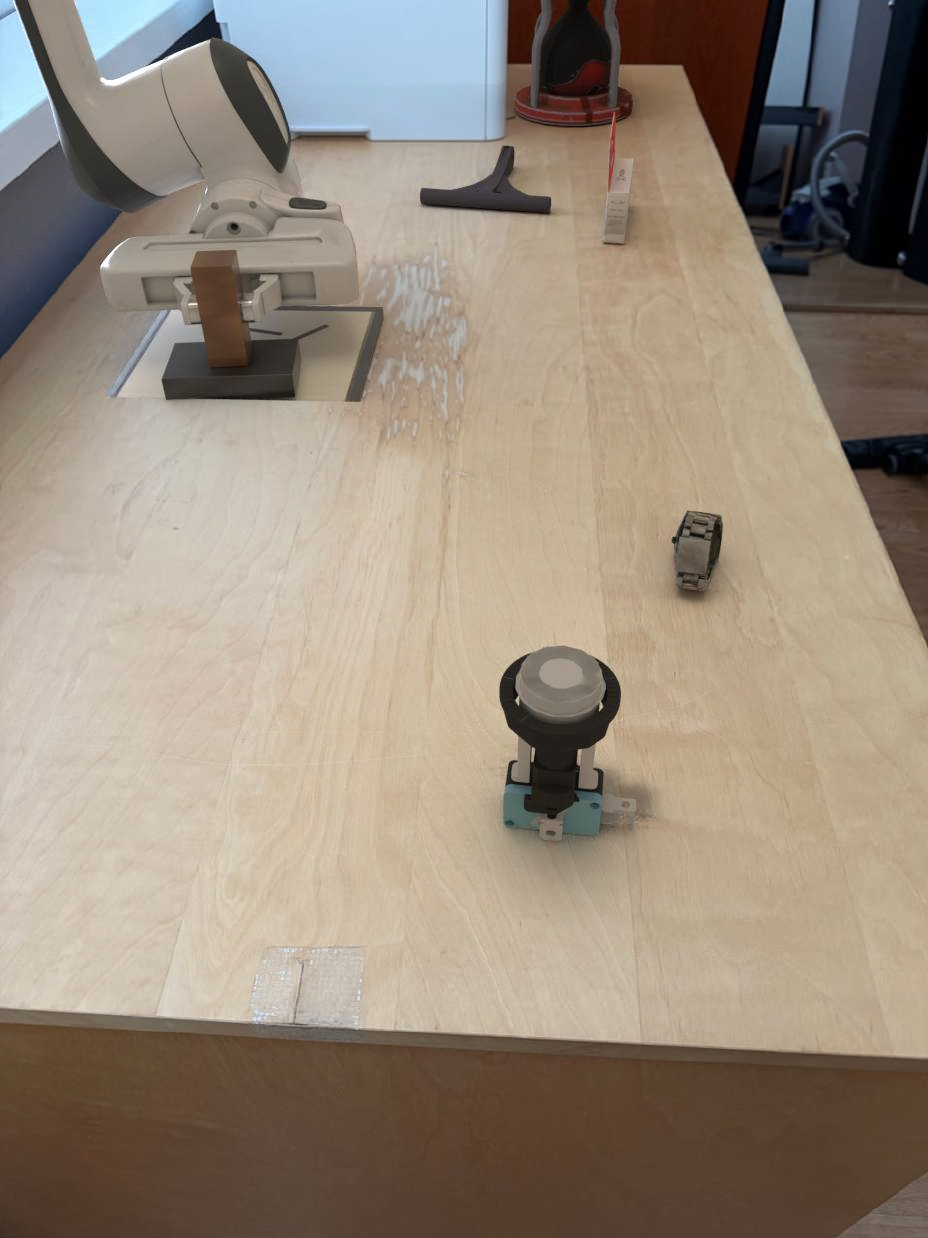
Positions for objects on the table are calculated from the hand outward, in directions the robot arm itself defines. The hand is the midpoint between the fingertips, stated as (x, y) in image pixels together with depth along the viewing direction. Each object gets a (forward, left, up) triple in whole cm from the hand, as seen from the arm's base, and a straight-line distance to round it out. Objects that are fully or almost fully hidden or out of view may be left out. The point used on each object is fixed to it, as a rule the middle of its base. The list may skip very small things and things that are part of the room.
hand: (221, 314), depth 78 cm
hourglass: (+28, +81, -8) cm, 86 cm away
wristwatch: (+34, -20, -8) cm, 40 cm away
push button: (+26, -40, -8) cm, 48 cm away
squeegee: (+19, +50, -8) cm, 54 cm away
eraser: (0, +1, -6) cm, 6 cm away
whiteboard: (0, +5, -7) cm, 9 cm away
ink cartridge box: (+32, +39, -8) cm, 51 cm away
